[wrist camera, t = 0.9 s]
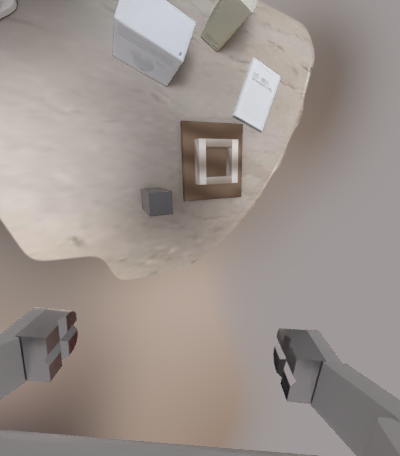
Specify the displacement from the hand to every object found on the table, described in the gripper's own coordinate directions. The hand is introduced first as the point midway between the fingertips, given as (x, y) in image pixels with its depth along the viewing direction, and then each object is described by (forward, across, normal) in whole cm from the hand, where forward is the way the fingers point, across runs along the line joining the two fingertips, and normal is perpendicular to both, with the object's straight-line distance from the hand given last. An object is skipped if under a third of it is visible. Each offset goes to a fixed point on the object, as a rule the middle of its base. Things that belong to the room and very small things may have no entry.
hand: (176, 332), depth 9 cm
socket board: (+45, -2, -8) cm, 46 cm away
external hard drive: (+50, -10, -22) cm, 56 cm away
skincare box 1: (+40, +12, -25) cm, 49 cm away
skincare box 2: (+46, 0, -32) cm, 56 cm away
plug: (+40, +10, +1) cm, 41 cm away
